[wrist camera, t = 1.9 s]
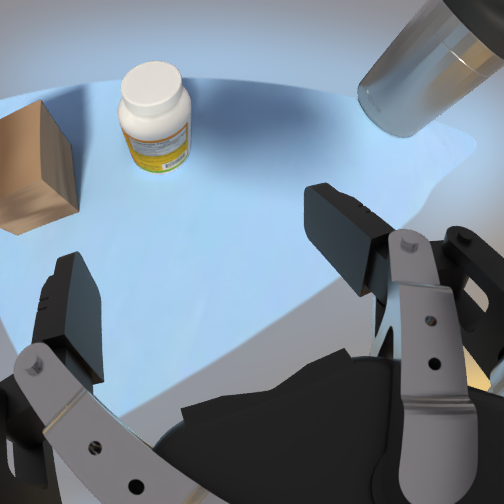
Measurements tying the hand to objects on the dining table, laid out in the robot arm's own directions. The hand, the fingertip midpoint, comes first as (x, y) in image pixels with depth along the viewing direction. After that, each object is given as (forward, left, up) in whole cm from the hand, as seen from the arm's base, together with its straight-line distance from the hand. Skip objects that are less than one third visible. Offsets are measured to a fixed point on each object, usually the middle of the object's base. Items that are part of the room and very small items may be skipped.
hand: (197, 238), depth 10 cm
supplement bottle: (0, -12, -15) cm, 19 cm away
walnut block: (+12, -12, -15) cm, 22 cm away
